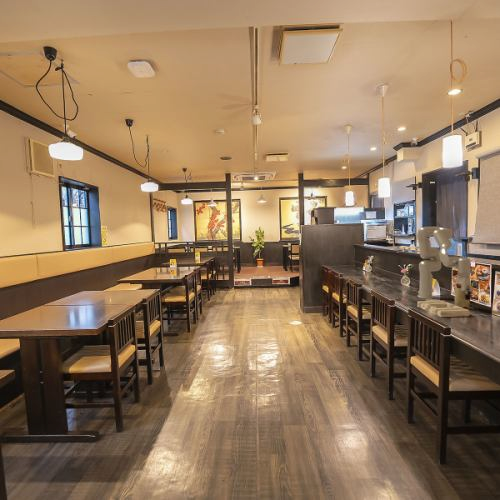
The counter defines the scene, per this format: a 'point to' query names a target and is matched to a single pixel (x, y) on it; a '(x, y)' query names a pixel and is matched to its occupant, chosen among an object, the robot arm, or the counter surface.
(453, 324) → the counter surface
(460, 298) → the food model
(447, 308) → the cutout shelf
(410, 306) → the counter surface
